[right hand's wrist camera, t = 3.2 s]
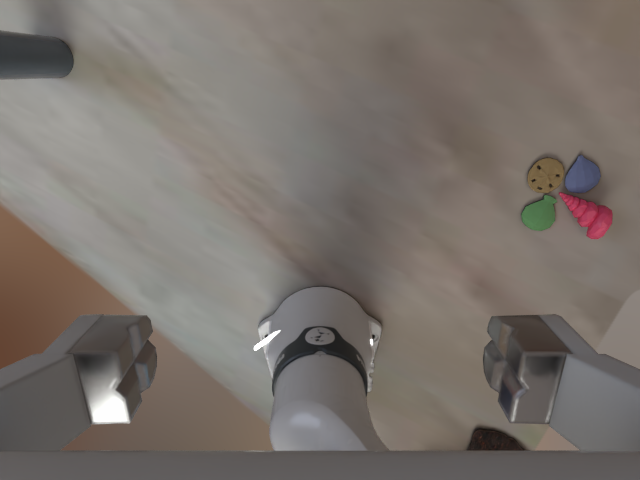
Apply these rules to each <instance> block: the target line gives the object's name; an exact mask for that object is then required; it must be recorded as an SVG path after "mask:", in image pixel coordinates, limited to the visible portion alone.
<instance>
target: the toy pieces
mask: <svg viewBox="0 0 640 480" xmlns="http://www.w3.org/2000/svg"><path fill="white" fill-rule="evenodd" d="M538 165H539V166H540V167H541V169H540V170H539V169H538V168H537V166H538ZM557 174H560V175H559V177H557V176H556V175H557ZM563 176H564V168H563V166H562V164H561V163H560V162H559V161H558V160H556V159H552V158H544V159H541V160H539V161H538V162H536V163H535V164H534V165H533V167H532V168H531V169H530V171H529V173H528V184H529V186H530V188H531V189H532V190H534V191H536V192H540V193H548V192H550V191H552V190H554V189H555V188H557V187H558V186H559V185H560V184H561V181H562V179H563ZM600 177H601V175H600V171H599V168H598V167H597V166H596V165H595V164H594V163H593V162H591V161H589V160H587V159H585V158H584V157H583V156H582V155H580V156H579V157H578V159H577V161H576V162H575V163H574V165H573V166H572V168H571V169H570V171H569V172H568V174H567V176H566V178H565V184H566V188H567V189H568V190H569V191H570V192H575V193H584V192H587V191H588V190H590V189H592V188H593V187H594V186H595V185H597V184H598V182H599V179H600ZM533 179H535V181H534V182H532V180H533ZM550 183H551V184H552V187H550V186H549V184H550ZM538 186H539V187H541V189H538ZM559 195H560V196H561V197H562V199H563V201H564V202H566V203H565V204H566V205H567V206H568V208H569V210H570V211H572V214H573V216H574V217H577V218H578V223H579V224H580V226H581V227H589V228H588V230H587V236H588V237H589V238H591V239H599V238H601V237H602V236H604V234H605V233H606V231H607V230H608V229H609V227H610V225H611V224H612V215H613V214H612V210H611V209H609V208H607V207H606V206H603V205H598V206H596V204H595V203H593V202H591V201H590V202H586V201H585V200H583V199H579V198H577V197H573V196H572V195H566V194H564V193H561V192H559ZM556 202H557V200H556V199H555V198H553V197H551V196H548V195H544V200H540V201H537V202H535V203H533V204H530V205H528V206H526V207H525V209H524V210H523V212H522V214H521V215H522V222H523V223H524V224H525V225H526V226H527V227H529V228H530V229H533V230H538V231H542V230H545V229H547V228H550V226H551V225H552V224H553V223H554V221H555V210H554V206H553V204H554V203H556Z"/></svg>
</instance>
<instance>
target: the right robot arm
mask: <svg viewBox="0 0 640 480" xmlns="http://www.w3.org/2000/svg"><path fill="white" fill-rule="evenodd" d="M152 332H153V330H152V325H151V320H150V319H149V318H148V316H147V315H103V314H98V315H97V314H96V315H81V316H79V317H78V318H77V319H76V320H75V321H74V322H73V323H72V324H71V325H70V326H69V327H68V328H67V329H66V330H65V331H64V332H63V333H62V334H61V335H60V336H59V337H58V338H57V339H56V340H55V341H54V342H53V343H52V344H51V345H50V346H49V347H48V348H47V349H46V350H45V351H44V352H43V353H42V354H34V355H31V356H29V357H27V358H25V359H22V360H20V361H18V362H16V363H13V364H11V365H9V366H7V367H4V368H2V369H0V480H640V369H638V368H636V367H633V366H631V365H629V364H627V363H624V362H622V361H620V360H617V359H615V358H613V357H611V356H609V355H606V354H598V353H597V352H596V351H595V350H594V349H593V348H592V347H591V346H590V345H589V344H588V343H587V342H586V341H585V340H584V339H583V338H582V337H581V336H580V335H579V334H578V333H577V332H576V331H575V330H574V329H573V328H572V327H571V326H570V325H569V324H568V323H567V322H566V321H565V320H564V319H563V318H562V317H561V316H559V315H556V314H548V315H515V316H492V317H491V319H490V321H489V324H488V330H487V332H488V334H489V335H490V337H491V339H492V340H491V341H490V342H489V343H488V344H487V345H486V346H485V347H484V355H483V366H484V373H485V376H486V379H487V381H488V383H489V385H490V387H491V388H492V389H494V390H495V391H497V392H498V393H499V398H498V402H499V404H500V406H501V408H502V409H503V411H504V413H505V415H506V417H507V419H508V420H509V422H510V423H527V424H549V426H550V427H551V428H553V429H554V430H555V431H556V432H558V433H559V434H560V435H561V436H563V437H564V438H565V439H566V440H568V441H569V442H570V443H572V444H573V445H574V446H575V447H577V448H578V449H579V450H580V451H390V450H389V449H388V448H387V447H386V446H385V445H384V443H383V442H382V441H381V439H380V438H379V436H378V435H377V433H376V431H375V430H374V427H373V424H372V421H371V417H370V414H369V409H368V405H367V399H366V396H367V392H370V391H371V389H372V377H371V376H369V374H370V373H373V372H374V363H373V360H374V357H375V353H376V350H377V346H378V343H379V339H380V336H381V333H382V326H381V324H380V323H379V322H378V321H377V320H375V319H374V318H372V317H370V316H369V315H367V314H366V313H365V312H364V310H363V309H362V308H361V306H360V305H359V304H358V302H357V301H356V300H355V299H353V298H352V297H351V296H349V295H348V294H346V293H344V292H342V291H340V290H337V289H334V288H329V287H311V288H306V289H303V290H300V291H298V292H296V293H294V294H292V295H291V296H289V297H288V298H287V299H286V300H284V301H283V302H282V304H281V305H280V306H279V308H278V309H277V310H276V312H275V313H274V314H273V315H271V316H270V317H268V318H266V319H265V320H263V321H262V322H261V323H260V324H259V326H258V333H259V336H260V339H261V342H260V343H259V344H257V345H256V346H255V348H254V350H255V351H256V350H257V349H259V348H260V347H262V346H263V350H264V353H265V356H266V360H267V363H268V367H269V370H270V374H271V377H272V382H273V383H272V391H273V396H274V401H273V408H272V415H271V422H270V440H271V444H272V447H273V449H274V451H60V450H61V449H62V448H64V447H65V446H66V445H67V444H69V443H70V442H71V441H72V440H74V439H75V438H76V437H78V436H79V435H80V434H81V433H83V432H84V431H85V430H86V429H88V428H89V427H90V426H91V424H112V423H130V422H131V420H132V419H133V417H134V415H135V413H136V411H137V409H138V407H139V406H140V404H141V402H142V398H141V393H142V392H143V391H145V390H146V389H148V388H149V387H150V385H151V383H152V381H153V379H154V376H155V372H156V367H157V354H156V348H155V346H154V345H153V344H152V343H151V342H150V341H149V340H148V339H149V337H150V335H151V334H152ZM266 334H268V336H266ZM372 334H374V336H372Z"/></svg>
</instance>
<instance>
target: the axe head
mask: <svg viewBox="0 0 640 480" xmlns="http://www.w3.org/2000/svg"><path fill="white" fill-rule="evenodd" d="M468 451H525V450H524V449H522V448H520V446H519V445H518V443H517V442H516V441H515V440H514V439H513V438H508V437H507V435H505V434H502V433H499V432H496V431H488V430H483V429H480V430H477V431H475V432H474V434H473V436H472V443H471V444H470V447H469V450H468Z"/></svg>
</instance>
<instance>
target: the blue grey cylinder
mask: <svg viewBox="0 0 640 480" xmlns="http://www.w3.org/2000/svg"><path fill="white" fill-rule="evenodd" d="M72 67H73V56H72V53H71V51H70V49H69V48H68V46H67V45H66V44H65V43H64V42H63V41H61V40H60V39H58V38H55V37H49V36H41V35H33V34H25V33H18V32H10V31H2V30H0V80H5V79H41V78H62V77H65V76H67V75H68V74H69V73H70V71H71V70H72Z"/></svg>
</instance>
